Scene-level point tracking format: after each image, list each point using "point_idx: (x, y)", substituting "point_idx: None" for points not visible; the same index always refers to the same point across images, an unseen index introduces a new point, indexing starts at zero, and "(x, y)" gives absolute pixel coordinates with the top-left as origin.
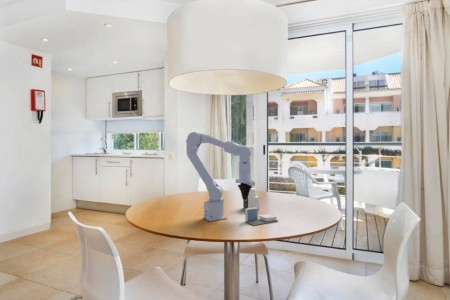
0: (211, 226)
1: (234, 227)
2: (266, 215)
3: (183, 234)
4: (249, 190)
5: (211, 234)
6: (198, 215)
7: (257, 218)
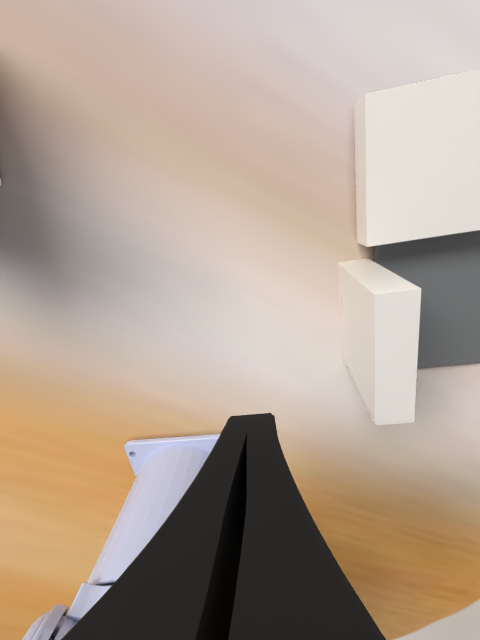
0: (344, 539)
1: (434, 463)
2: (414, 163)
3: (395, 634)
4: (333, 566)
5: (470, 574)
6: (100, 523)
7: (373, 264)
